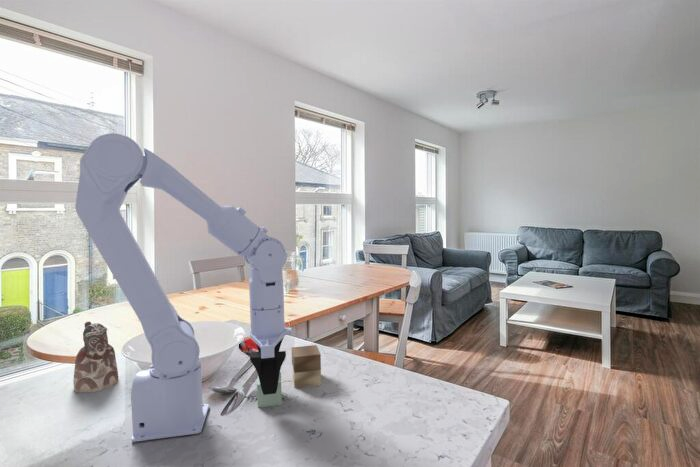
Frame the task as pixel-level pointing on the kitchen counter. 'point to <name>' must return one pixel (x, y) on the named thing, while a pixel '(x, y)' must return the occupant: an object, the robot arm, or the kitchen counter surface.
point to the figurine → (95, 361)
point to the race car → (248, 346)
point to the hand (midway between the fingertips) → (269, 382)
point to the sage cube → (269, 395)
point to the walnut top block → (306, 358)
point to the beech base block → (307, 378)
